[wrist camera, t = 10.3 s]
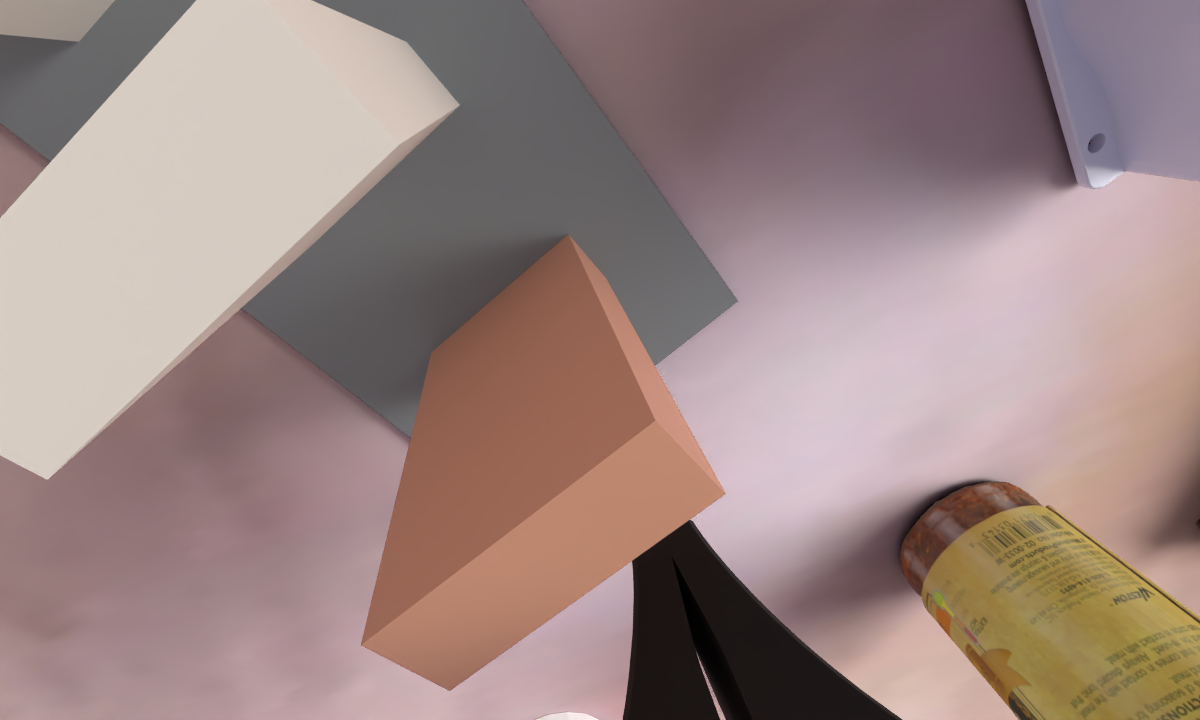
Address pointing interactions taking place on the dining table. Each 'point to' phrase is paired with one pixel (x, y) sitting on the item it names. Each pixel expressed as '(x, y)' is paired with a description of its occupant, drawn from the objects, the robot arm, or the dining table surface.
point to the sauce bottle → (1052, 611)
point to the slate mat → (426, 193)
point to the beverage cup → (567, 716)
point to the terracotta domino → (529, 472)
